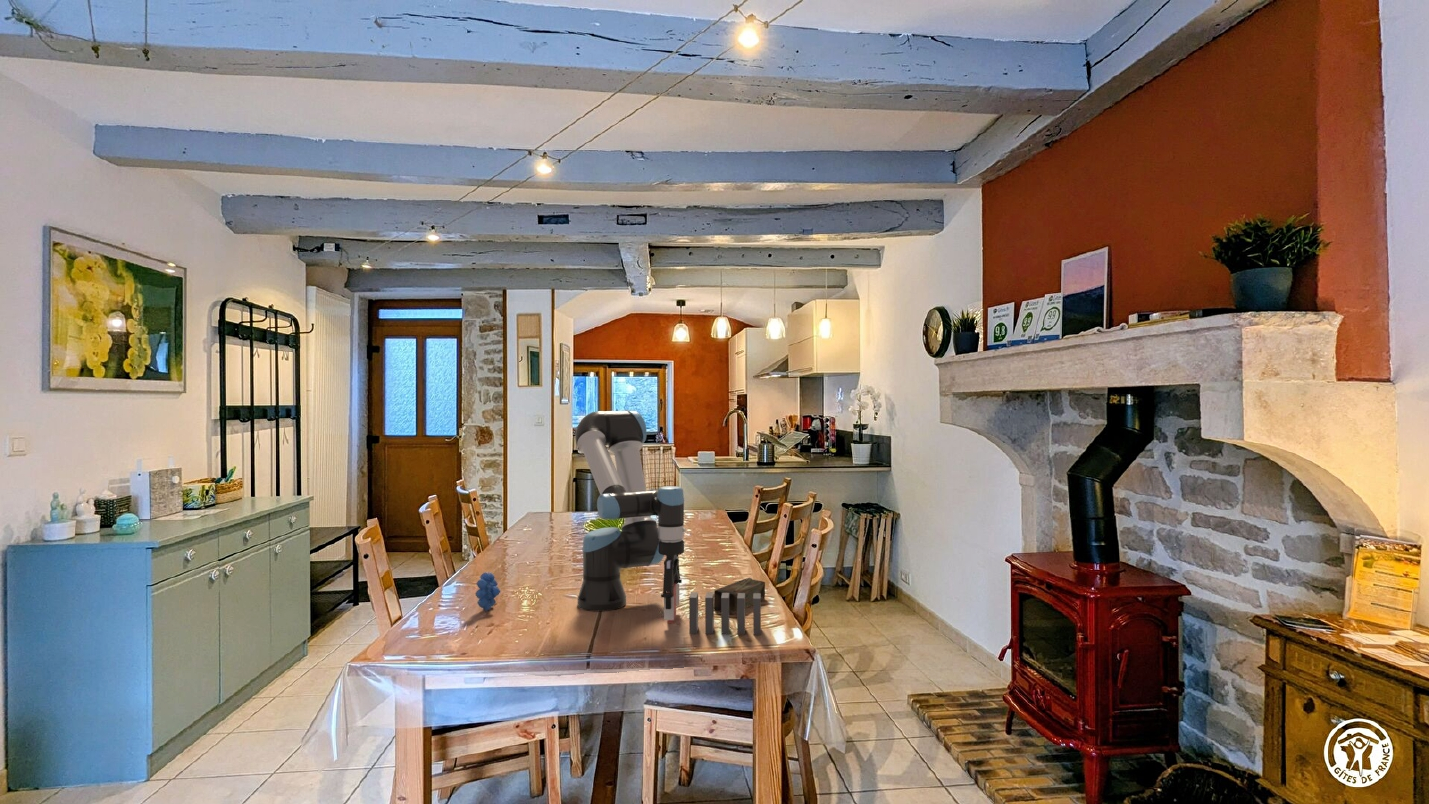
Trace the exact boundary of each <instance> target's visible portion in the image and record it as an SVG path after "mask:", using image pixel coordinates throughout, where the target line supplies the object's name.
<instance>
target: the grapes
mask: <svg viewBox="0 0 1429 804" xmlns="http://www.w3.org/2000/svg"><path fill="white" fill-rule="evenodd" d="M479 578H480V579H478V581H477V582H476V586H477V587H478V589H477V590H476V592H475V596H476V598H477V599H478V600H477V605H478V606H479V608H482V609H483V610H484V611H486V612H488V611H489V610H491V608H492V607H494V606H495V604H496V603H497V601H496V599H495V598H496V597H498V596H499V595H500V594H501V589H500V588H499V587H498V581H497V580H496V579H495V578H496V577H495V576H494V574H493V573H492V572H483V573H482V574H481V575H480V577H479Z"/></svg>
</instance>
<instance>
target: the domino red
mask: <svg viewBox="0 0 1429 804" xmlns="http://www.w3.org/2000/svg"><path fill="white" fill-rule="evenodd" d="M668 593H670V592H668ZM673 596H674V620H666V621H667V622H666V623H668V624H670V623H671V624H674V623H675V621H676V619H677V606H676V584H674V587H673Z"/></svg>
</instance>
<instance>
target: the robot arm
mask: <svg viewBox="0 0 1429 804" xmlns="http://www.w3.org/2000/svg"><path fill="white" fill-rule="evenodd" d="M647 431H648V429H647V424H646V421H645V418H644V417H643V416H642V414H641V413H639V412H638V411H637V410H628V409H627V410H606V411H605V410H604V411H603V410H597V411H593V412H590V413H588V414H587V415H585V416H584V417H583V418H582V419H580V421H579V423H578V424H577V427H576V430H575V435H574V436H575V437H574V439H575V443H576V446H577V448H578V450H579V451H580V452H581V453H583V454H584V457H585V460H586V463H587V466H588V468H589V471H590V472H591V475H592V477H593V480H594V482H595V485H596V487H597V489H598V492H599V496H598V498H597V500H596V509H597V514H598V516H599V518H601V519H602V520H618V519H619V520H620V519H624V523H623V524H622V526H621V528H619V527H614V526H611V527H601V528H597V529H592V530H590V531H589V532H587V533H586V534H585V535H584V536H583V540H582V548H581V549H582V584H581V586H580V590H579V592H578V596H577V608H579V609H581V610H584V611H591V612H605V611H612V610H617V609H621V608H622V607H623V606H625V605H626V604H627V595H626V592H625V588H624V585H623V583H622V580H621V570H622V569H630V568H631V569H632V568H638V567H639V568H641V567H649V566H652V565H653V566H654V565H658V564H660V563H661V562H662V561H663V566H664V567H663V568H664V569H663V584H662V585H663V586H662V594H660V598H663V621H667V620H674V596H673V587H674V584H676V607H679V606H681V605H680V604H681V603H680V584H682V581H683V580H682V579H681V574H680V573H681V572H680V559H679V555H683V554H684V553H685V541H684V540H683V539H684V537H685V532H687V529H686V528H684V526H685V512H684V511H685V508H684V507H685V497H684V490H683V488H682V487H681V486H675V485H674V486H673V485H668V486H667V485H666V486H661V487H660V488H650V489H647V488H646V487H647V486H646V483H645V474H644V470H643V465H642V457H641V453H640V451H641V449H642V448H643V446H644V445H643V443H645V441H647V435H648V433H647ZM607 446H608V447H607ZM610 453H611V454H612V455H614V461H615V463H614V461H613V459H612V457H611V454H610ZM651 516H657V519H658V521H656V520H655V519H653V517H651ZM657 522H658V523H657ZM665 556H666V557H665ZM664 557H665V560H663V559H664ZM668 592H670V593H668Z"/></svg>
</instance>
